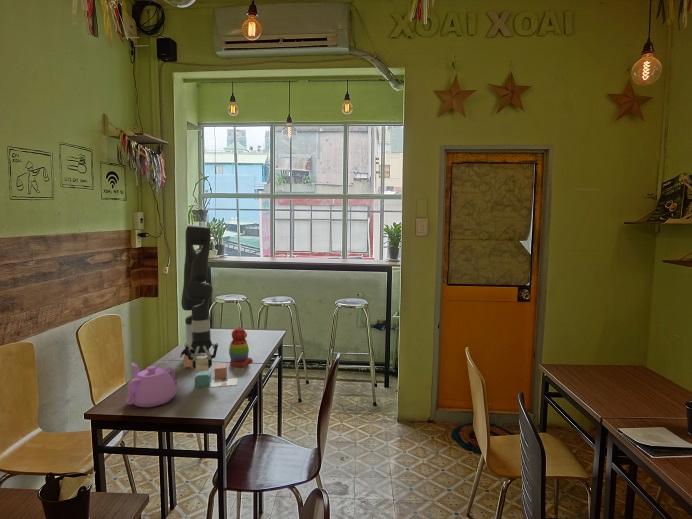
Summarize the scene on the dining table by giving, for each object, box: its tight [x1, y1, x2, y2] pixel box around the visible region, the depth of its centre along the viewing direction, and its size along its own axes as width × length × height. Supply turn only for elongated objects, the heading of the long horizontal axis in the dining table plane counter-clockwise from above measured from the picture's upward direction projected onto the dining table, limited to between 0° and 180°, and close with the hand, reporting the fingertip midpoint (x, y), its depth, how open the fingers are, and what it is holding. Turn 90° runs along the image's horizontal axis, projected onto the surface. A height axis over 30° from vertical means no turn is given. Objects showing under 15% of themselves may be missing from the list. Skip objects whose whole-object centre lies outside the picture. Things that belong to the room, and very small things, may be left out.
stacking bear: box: [228, 326, 253, 368], centre depth 218 cm, size 11×10×18 cm
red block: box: [213, 363, 228, 380], centre depth 200 cm, size 5×5×5 cm
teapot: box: [125, 361, 178, 408], centre depth 175 cm, size 22×22×14 cm
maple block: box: [195, 355, 210, 372], centre depth 192 cm, size 5×5×5 cm
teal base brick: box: [194, 371, 212, 388], centre depth 192 cm, size 6×6×4 cm
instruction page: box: [210, 377, 239, 388], centre depth 193 cm, size 8×11×1 cm
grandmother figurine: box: [179, 341, 195, 370], centre depth 213 cm, size 8×4×13 cm, turn 117°
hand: (202, 367), depth 192 cm, fingers closed on maple block, 5 cm apart
